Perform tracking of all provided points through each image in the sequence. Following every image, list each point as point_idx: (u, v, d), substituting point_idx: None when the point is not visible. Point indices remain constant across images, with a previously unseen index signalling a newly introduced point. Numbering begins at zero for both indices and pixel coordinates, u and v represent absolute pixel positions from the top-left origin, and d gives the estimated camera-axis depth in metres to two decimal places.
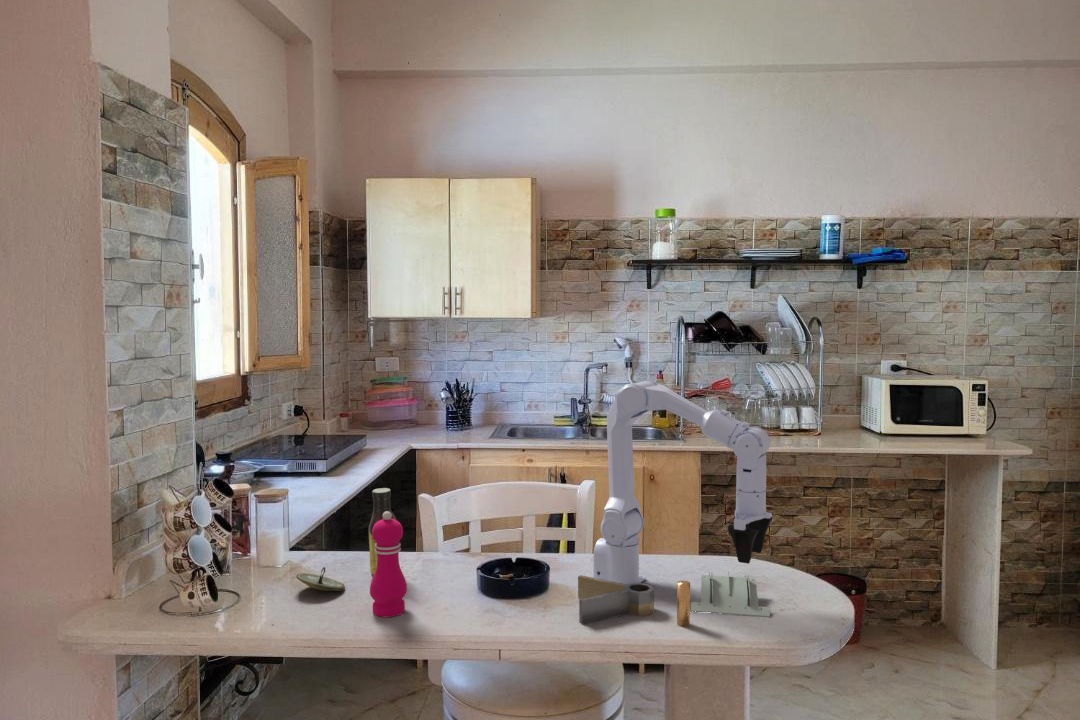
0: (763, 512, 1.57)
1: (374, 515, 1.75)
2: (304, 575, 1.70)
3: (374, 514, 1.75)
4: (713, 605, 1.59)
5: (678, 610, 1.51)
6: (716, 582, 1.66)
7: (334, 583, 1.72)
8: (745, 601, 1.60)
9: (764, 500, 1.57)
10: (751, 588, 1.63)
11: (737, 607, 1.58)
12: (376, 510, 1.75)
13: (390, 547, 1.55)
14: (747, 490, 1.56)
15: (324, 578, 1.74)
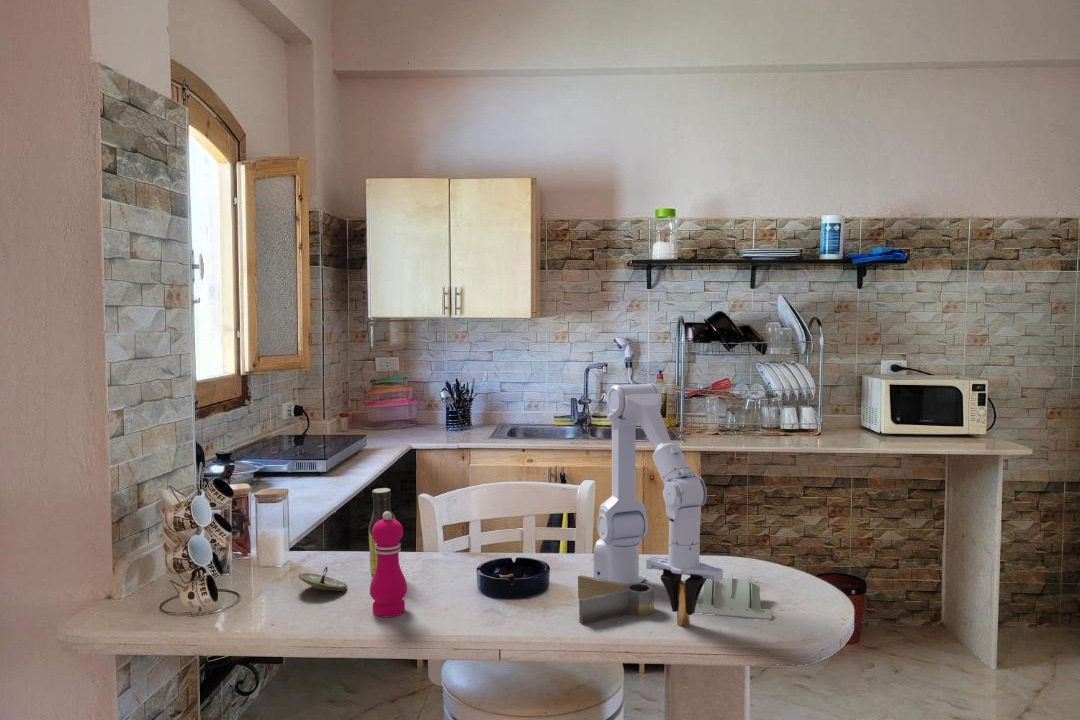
0: (674, 565, 1.49)
1: (374, 515, 1.75)
2: (306, 575, 1.71)
3: (374, 514, 1.75)
4: (714, 607, 1.58)
5: (678, 610, 1.51)
6: (719, 584, 1.65)
7: (336, 582, 1.72)
8: (747, 603, 1.58)
9: (676, 553, 1.48)
10: (754, 590, 1.62)
11: (739, 609, 1.57)
12: (376, 510, 1.75)
13: (390, 547, 1.55)
14: (671, 540, 1.49)
15: (326, 578, 1.74)
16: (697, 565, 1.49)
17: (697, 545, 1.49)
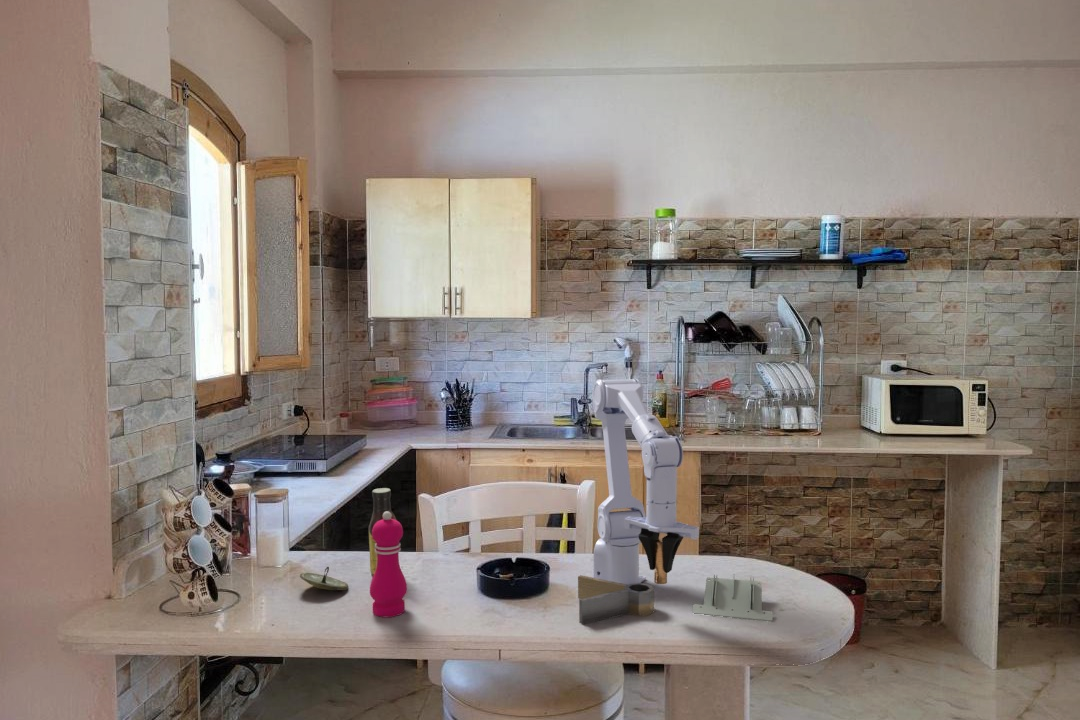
0: (652, 524, 1.52)
1: (374, 515, 1.75)
2: (307, 574, 1.71)
3: (374, 514, 1.75)
4: (715, 608, 1.57)
5: (655, 568, 1.54)
6: (721, 585, 1.64)
7: (337, 582, 1.73)
8: (748, 605, 1.58)
9: (653, 512, 1.51)
10: (756, 592, 1.61)
11: (739, 610, 1.56)
12: (376, 510, 1.75)
13: (390, 547, 1.55)
14: (648, 499, 1.53)
15: (327, 577, 1.74)
16: (674, 523, 1.52)
17: (674, 504, 1.52)
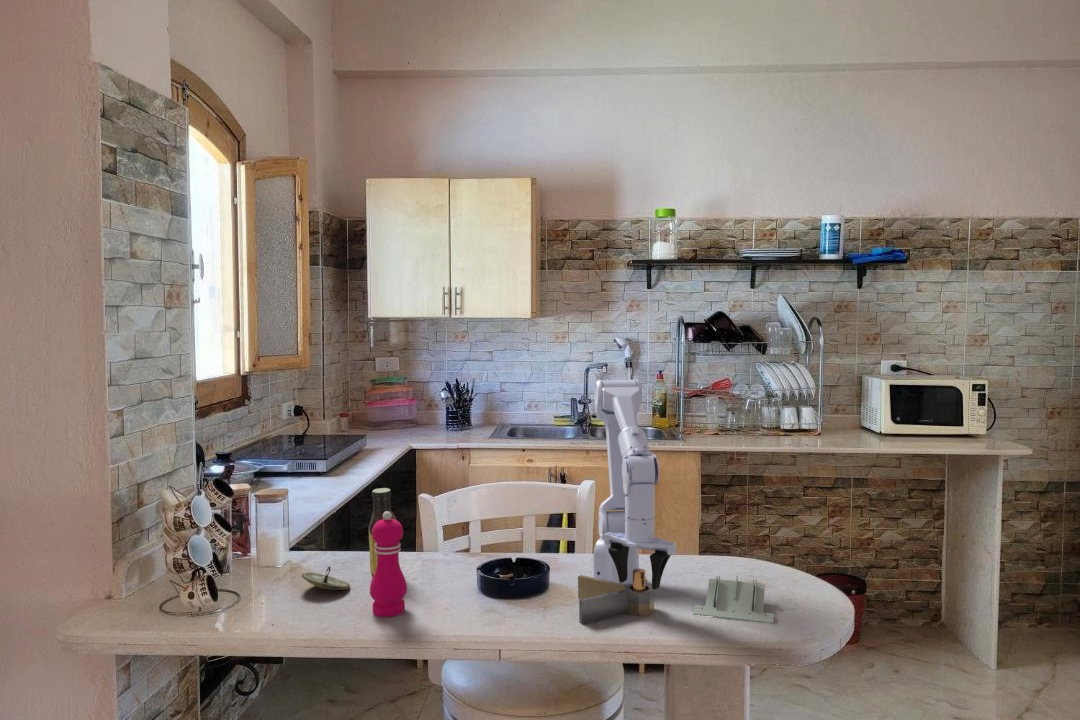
0: (630, 539, 1.56)
1: (374, 515, 1.75)
2: (309, 574, 1.71)
3: (374, 514, 1.75)
4: (716, 609, 1.57)
5: None
6: (723, 586, 1.63)
7: (338, 582, 1.73)
8: (750, 606, 1.57)
9: (632, 528, 1.55)
10: (758, 593, 1.60)
11: (741, 612, 1.55)
12: (376, 510, 1.75)
13: (390, 547, 1.55)
14: (625, 515, 1.57)
15: (329, 577, 1.74)
16: (652, 539, 1.56)
17: (652, 520, 1.55)
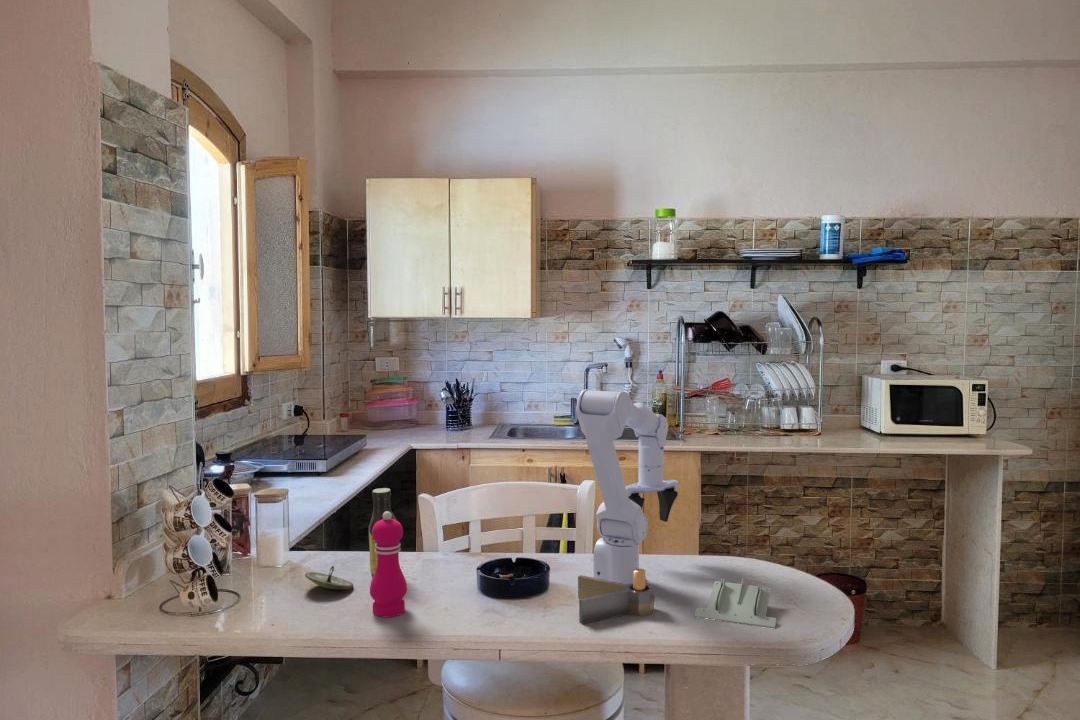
0: (655, 485, 1.83)
1: (374, 515, 1.75)
2: (312, 574, 1.71)
3: (374, 514, 1.75)
4: (718, 612, 1.55)
5: None
6: (728, 589, 1.62)
7: (342, 581, 1.73)
8: (753, 610, 1.55)
9: (656, 475, 1.83)
10: (763, 597, 1.58)
11: (743, 616, 1.53)
12: (376, 510, 1.75)
13: (390, 547, 1.55)
14: (662, 464, 1.85)
15: (332, 577, 1.74)
16: None
17: None
